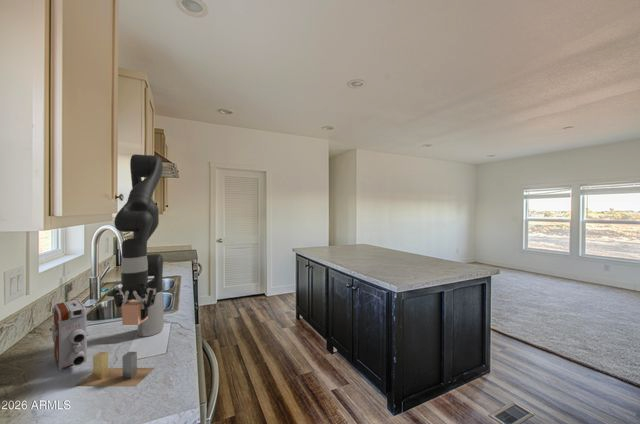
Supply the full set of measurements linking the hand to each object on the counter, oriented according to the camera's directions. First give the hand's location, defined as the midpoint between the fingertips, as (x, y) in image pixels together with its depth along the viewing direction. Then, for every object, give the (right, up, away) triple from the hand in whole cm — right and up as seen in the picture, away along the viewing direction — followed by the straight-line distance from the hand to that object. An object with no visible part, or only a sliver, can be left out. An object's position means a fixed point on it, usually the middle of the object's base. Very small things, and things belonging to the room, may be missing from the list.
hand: (135, 318), depth 92 cm
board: (0, -15, -9) cm, 18 cm away
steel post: (+4, -14, -9) cm, 17 cm away
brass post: (-5, -14, -9) cm, 17 cm away
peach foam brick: (0, -1, 0) cm, 1 cm away
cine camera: (-22, -16, 0) cm, 27 cm away
